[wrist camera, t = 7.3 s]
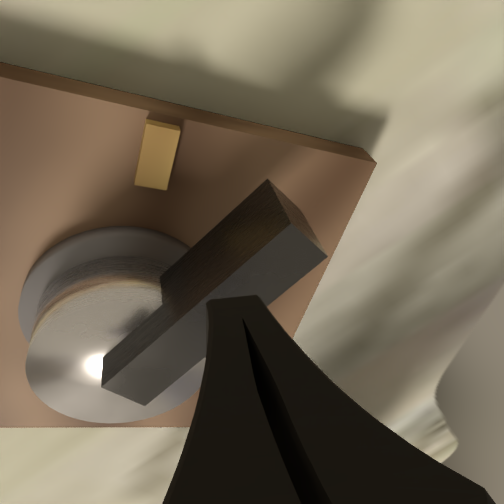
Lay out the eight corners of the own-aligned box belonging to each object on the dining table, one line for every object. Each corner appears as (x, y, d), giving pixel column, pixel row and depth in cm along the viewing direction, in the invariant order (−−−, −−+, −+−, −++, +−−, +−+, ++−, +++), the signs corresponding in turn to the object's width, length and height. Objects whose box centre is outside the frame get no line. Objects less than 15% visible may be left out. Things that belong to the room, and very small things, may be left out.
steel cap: (133, 394, 23) (135, 470, 20) (-1, 334, 19) (-25, 417, 16) (328, 231, 20) (367, 292, 17) (214, 120, 16) (236, 173, 13)
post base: (362, 148, 21) (385, 171, 19) (244, 406, 30) (252, 438, 28) (-125, 32, 15) (-159, 50, 13) (-87, 402, 24) (-104, 442, 22)
